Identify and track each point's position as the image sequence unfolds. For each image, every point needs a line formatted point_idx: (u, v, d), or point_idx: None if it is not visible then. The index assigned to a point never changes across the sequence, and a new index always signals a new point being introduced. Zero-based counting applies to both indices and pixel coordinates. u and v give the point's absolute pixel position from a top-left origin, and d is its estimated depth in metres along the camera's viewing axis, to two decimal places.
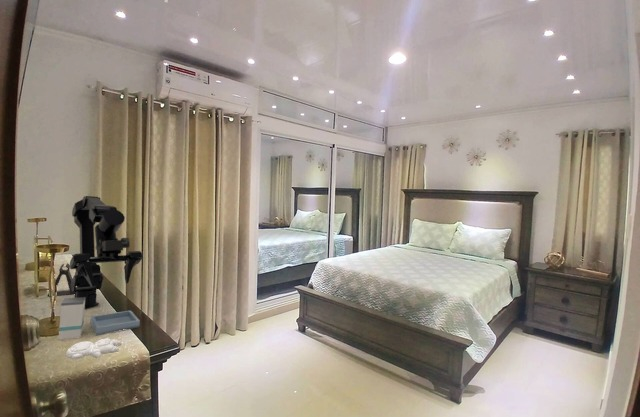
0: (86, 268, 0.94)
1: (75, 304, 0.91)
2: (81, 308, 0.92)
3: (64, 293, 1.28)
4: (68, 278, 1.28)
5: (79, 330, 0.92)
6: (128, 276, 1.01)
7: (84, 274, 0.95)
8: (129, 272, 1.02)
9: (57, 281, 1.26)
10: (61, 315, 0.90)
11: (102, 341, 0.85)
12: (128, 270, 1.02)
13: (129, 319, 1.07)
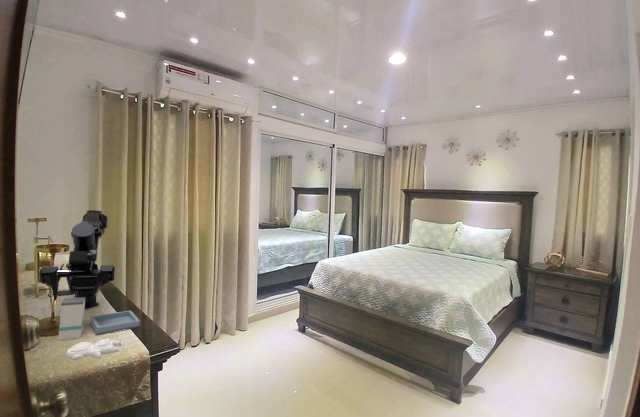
0: (51, 280, 0.94)
1: (75, 304, 0.91)
2: (81, 308, 0.92)
3: (64, 293, 1.28)
4: (68, 278, 1.28)
5: (79, 330, 0.92)
6: (95, 290, 0.97)
7: None
8: (97, 286, 0.98)
9: None
10: (61, 315, 0.90)
11: (102, 342, 0.85)
12: (96, 284, 0.98)
13: (129, 319, 1.07)
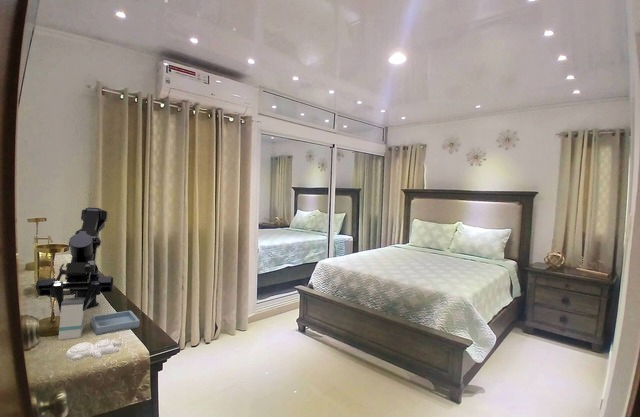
0: (56, 292, 0.92)
1: (75, 304, 0.91)
2: (81, 308, 0.92)
3: (64, 293, 1.28)
4: None
5: (79, 330, 0.92)
6: (85, 303, 0.94)
7: (57, 300, 0.93)
8: (87, 298, 0.95)
9: None
10: (61, 315, 0.90)
11: (102, 342, 0.85)
12: (86, 296, 0.95)
13: (129, 319, 1.07)
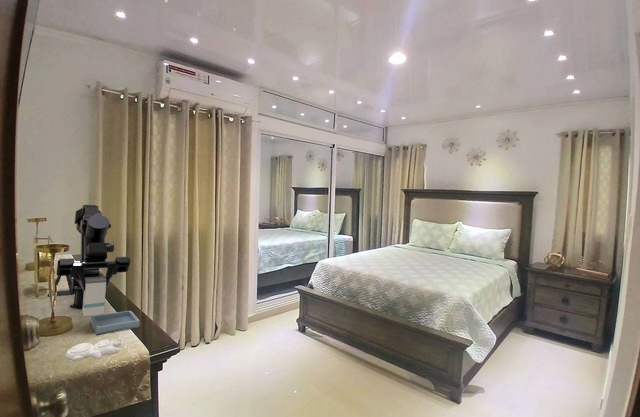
0: (78, 272, 0.95)
1: (99, 282, 0.95)
2: (104, 286, 0.96)
3: (64, 293, 1.28)
4: (68, 278, 1.28)
5: (103, 307, 0.96)
6: (107, 281, 0.98)
7: (78, 279, 0.96)
8: (108, 277, 0.99)
9: (57, 281, 1.26)
10: (86, 293, 0.93)
11: (102, 343, 0.84)
12: (107, 275, 0.99)
13: (129, 319, 1.07)
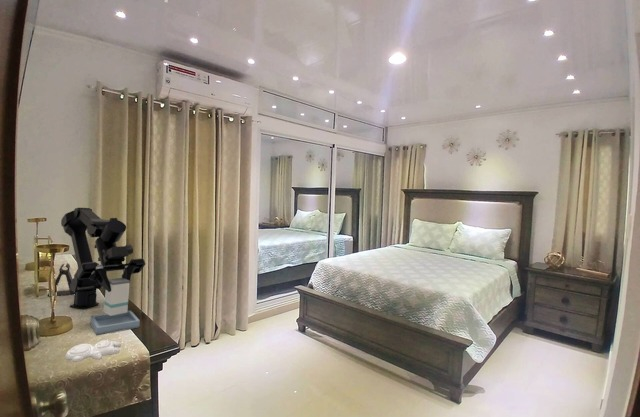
0: (102, 274, 1.00)
1: (124, 283, 1.02)
2: (128, 286, 1.03)
3: (64, 293, 1.28)
4: (68, 278, 1.28)
5: (126, 306, 1.03)
6: None
7: (99, 281, 1.01)
8: (129, 278, 1.05)
9: (57, 281, 1.26)
10: (112, 293, 0.99)
11: (102, 343, 0.84)
12: (127, 276, 1.05)
13: (129, 319, 1.07)
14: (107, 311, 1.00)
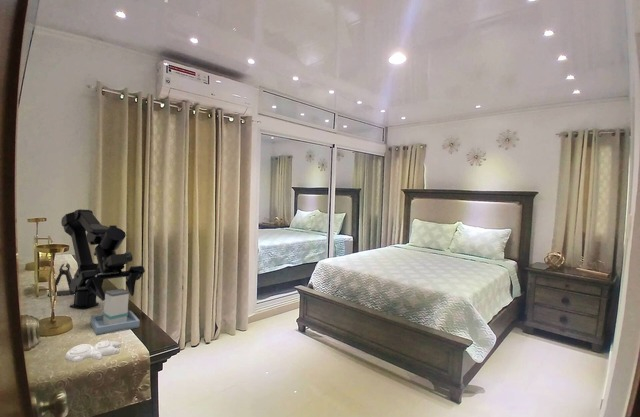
0: (96, 283, 0.98)
1: (123, 294, 1.02)
2: (127, 297, 1.03)
3: (64, 293, 1.28)
4: (68, 278, 1.28)
5: (126, 317, 1.03)
6: (133, 289, 1.06)
7: (93, 290, 0.99)
8: (133, 285, 1.06)
9: (57, 281, 1.26)
10: (112, 305, 0.99)
11: (102, 343, 0.84)
12: (132, 283, 1.07)
13: (129, 319, 1.07)
14: (106, 322, 1.00)
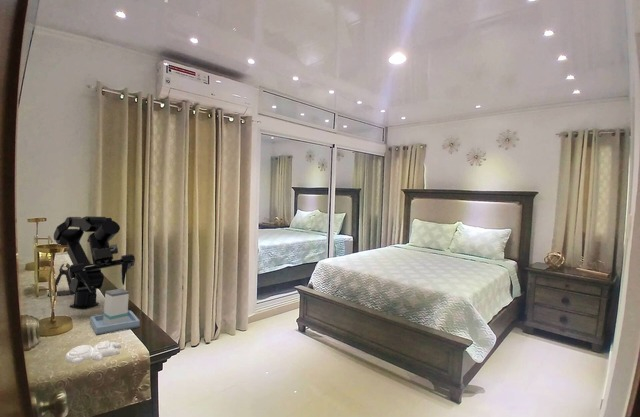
0: (82, 276, 1.04)
1: (123, 294, 1.02)
2: (127, 297, 1.03)
3: (64, 293, 1.28)
4: (68, 278, 1.28)
5: (126, 317, 1.03)
6: (123, 278, 1.10)
7: (83, 281, 1.06)
8: (124, 275, 1.11)
9: (57, 281, 1.26)
10: (112, 305, 0.99)
11: (102, 344, 0.84)
12: (122, 273, 1.11)
13: (129, 319, 1.07)
14: (106, 322, 1.00)
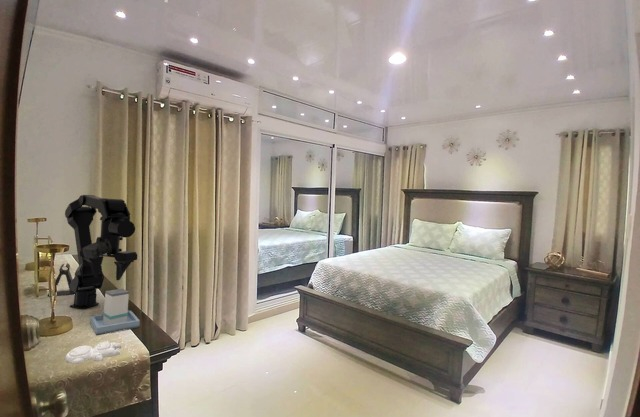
0: (89, 262, 1.09)
1: (123, 294, 1.02)
2: (127, 297, 1.03)
3: (64, 293, 1.28)
4: (68, 278, 1.28)
5: (126, 317, 1.03)
6: (117, 275, 1.08)
7: None
8: (117, 272, 1.08)
9: (57, 281, 1.26)
10: (112, 305, 0.99)
11: (103, 345, 0.83)
12: (117, 270, 1.08)
13: (129, 319, 1.07)
14: (106, 322, 1.00)
